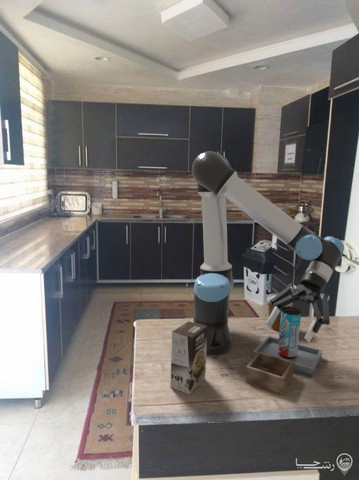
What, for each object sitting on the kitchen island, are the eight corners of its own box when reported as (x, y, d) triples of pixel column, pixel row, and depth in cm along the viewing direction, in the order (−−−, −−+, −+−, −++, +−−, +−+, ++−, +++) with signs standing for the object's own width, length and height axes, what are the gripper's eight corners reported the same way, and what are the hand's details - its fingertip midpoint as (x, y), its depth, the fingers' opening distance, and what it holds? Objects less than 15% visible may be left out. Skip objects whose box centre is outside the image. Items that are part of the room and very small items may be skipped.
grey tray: (252, 358, 111) (253, 351, 111) (267, 342, 123) (267, 335, 122) (312, 377, 102) (312, 369, 101) (321, 357, 113) (322, 350, 113)
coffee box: (190, 395, 92) (192, 337, 89) (169, 387, 95) (170, 331, 92) (206, 379, 99) (208, 325, 97) (186, 372, 103) (188, 320, 100)
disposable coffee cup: (291, 333, 130) (294, 302, 128) (265, 330, 132) (267, 300, 130) (289, 323, 140) (291, 294, 137) (264, 320, 141) (266, 292, 139)
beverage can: (280, 348, 116) (284, 305, 114) (298, 353, 113) (302, 309, 111) (275, 356, 111) (279, 311, 109) (294, 361, 108) (298, 315, 106)
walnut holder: (244, 381, 99) (245, 366, 98) (258, 365, 108) (259, 351, 107) (282, 394, 93) (283, 379, 92) (293, 376, 102) (294, 361, 101)
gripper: (357, 294, 109) (328, 353, 102) (286, 275, 128) (258, 324, 121) (351, 280, 105) (321, 341, 98) (279, 263, 123) (249, 313, 117)
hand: (286, 332), depth 109 cm, fingers open, 13 cm apart
